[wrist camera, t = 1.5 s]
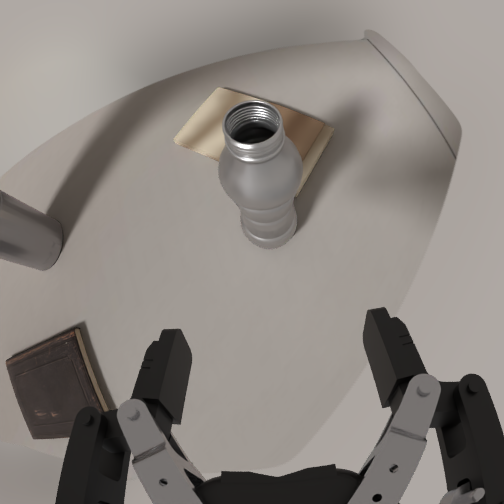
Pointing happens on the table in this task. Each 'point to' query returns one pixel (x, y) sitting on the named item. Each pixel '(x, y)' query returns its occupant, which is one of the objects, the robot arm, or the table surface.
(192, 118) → the board
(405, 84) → the table surface
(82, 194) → the table surface
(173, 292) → the table surface
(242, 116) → the plastic bottle
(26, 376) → the hardcover book
